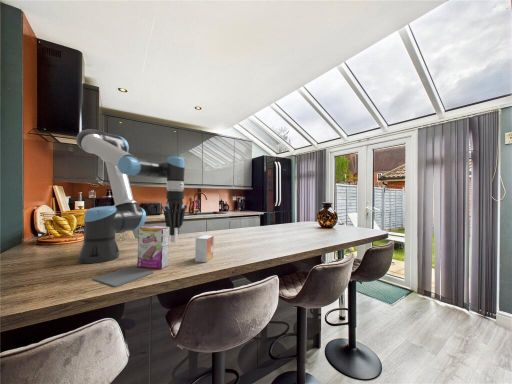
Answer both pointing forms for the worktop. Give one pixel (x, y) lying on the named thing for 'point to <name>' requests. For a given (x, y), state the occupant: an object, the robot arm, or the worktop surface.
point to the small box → (204, 248)
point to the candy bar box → (153, 247)
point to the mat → (122, 276)
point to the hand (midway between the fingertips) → (174, 242)
